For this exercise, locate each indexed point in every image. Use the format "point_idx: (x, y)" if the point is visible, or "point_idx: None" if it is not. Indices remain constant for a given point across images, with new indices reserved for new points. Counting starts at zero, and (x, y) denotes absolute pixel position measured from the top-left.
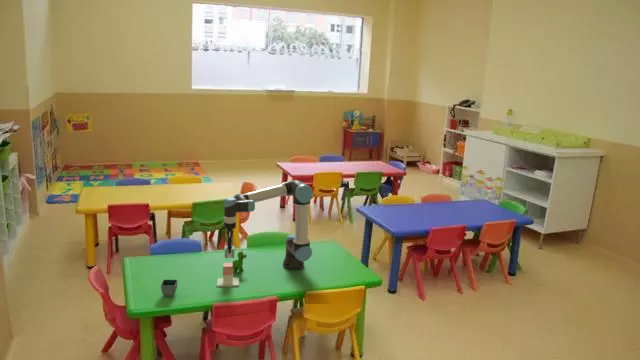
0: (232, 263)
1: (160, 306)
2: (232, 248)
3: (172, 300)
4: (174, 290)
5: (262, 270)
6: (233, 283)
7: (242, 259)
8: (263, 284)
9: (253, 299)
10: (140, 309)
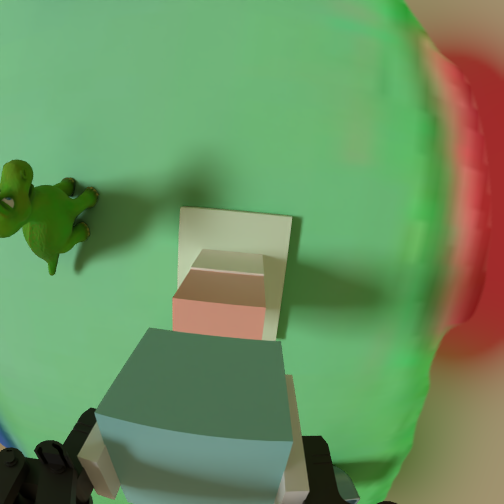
0: (189, 301)
1: (382, 474)
2: (240, 462)
3: (357, 462)
4: (353, 484)
5: (81, 67)
6: (262, 248)
7: (34, 190)
8: (279, 60)
9: (453, 155)
10: (377, 498)
